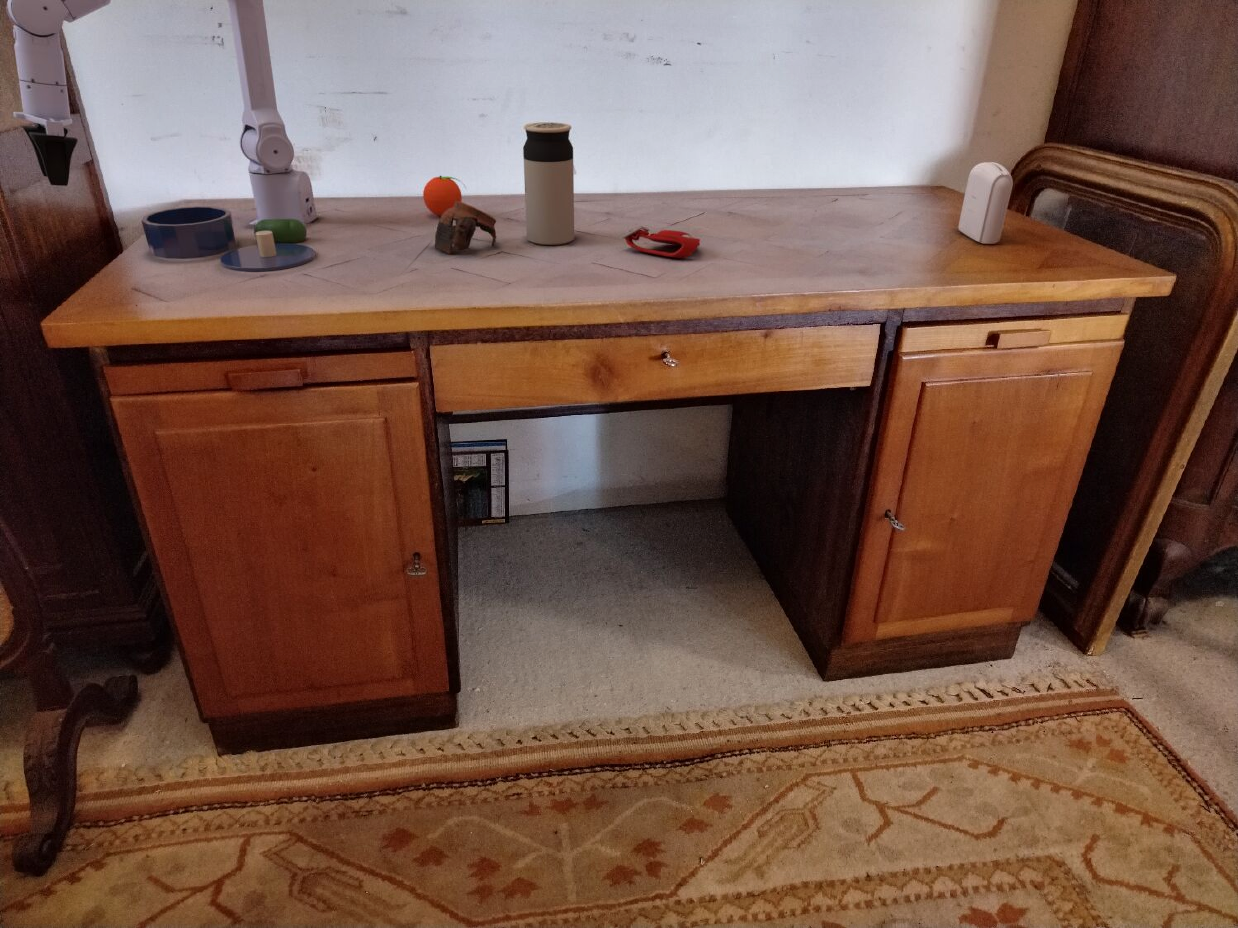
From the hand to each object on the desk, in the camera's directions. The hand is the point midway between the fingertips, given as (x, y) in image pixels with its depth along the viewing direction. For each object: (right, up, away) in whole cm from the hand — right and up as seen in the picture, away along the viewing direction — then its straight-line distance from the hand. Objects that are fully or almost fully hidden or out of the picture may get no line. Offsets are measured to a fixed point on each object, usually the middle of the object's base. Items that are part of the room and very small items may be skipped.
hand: (55, 181), depth 125 cm
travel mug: (+74, -5, +15) cm, 75 cm away
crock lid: (+32, -11, +1) cm, 34 cm away
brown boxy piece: (+60, -8, +9) cm, 62 cm away
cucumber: (+30, -7, +10) cm, 33 cm away
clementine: (+53, +3, +28) cm, 60 cm away
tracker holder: (+92, -8, +10) cm, 93 cm away
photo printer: (+148, -3, +20) cm, 149 cm away
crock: (+18, -9, +6) cm, 21 cm away
